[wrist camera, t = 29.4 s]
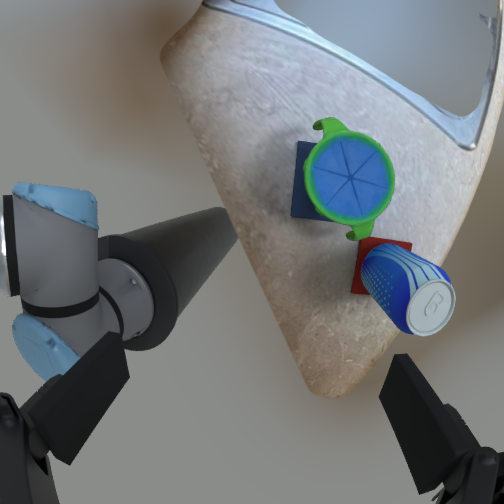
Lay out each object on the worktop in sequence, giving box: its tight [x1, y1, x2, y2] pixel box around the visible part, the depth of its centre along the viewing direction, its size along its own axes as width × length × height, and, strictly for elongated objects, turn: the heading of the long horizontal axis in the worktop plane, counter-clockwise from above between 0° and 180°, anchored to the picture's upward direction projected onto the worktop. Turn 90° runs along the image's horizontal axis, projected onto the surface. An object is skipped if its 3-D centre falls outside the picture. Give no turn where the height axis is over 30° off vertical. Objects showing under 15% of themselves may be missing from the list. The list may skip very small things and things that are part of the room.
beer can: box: [361, 243, 456, 336], centre depth 32 cm, size 8×8×16 cm
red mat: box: [351, 237, 412, 295], centre depth 40 cm, size 9×9×1 cm
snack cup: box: [303, 117, 395, 241], centre depth 33 cm, size 16×10×10 cm
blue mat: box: [291, 141, 335, 222], centre depth 38 cm, size 11×11×1 cm
